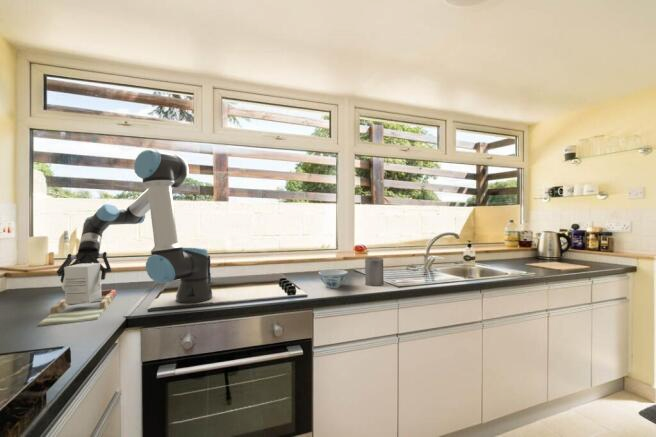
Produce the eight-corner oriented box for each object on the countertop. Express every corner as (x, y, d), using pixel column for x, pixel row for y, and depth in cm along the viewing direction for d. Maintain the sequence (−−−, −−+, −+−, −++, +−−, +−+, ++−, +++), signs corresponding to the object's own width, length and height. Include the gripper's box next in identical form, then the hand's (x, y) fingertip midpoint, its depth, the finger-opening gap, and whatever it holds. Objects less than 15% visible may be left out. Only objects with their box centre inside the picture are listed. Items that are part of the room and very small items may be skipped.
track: (72, 298, 149) (72, 291, 149) (116, 294, 156) (116, 288, 156) (38, 326, 112) (38, 317, 112) (97, 319, 119) (97, 311, 119)
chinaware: (352, 285, 171) (352, 270, 171) (338, 291, 159) (338, 275, 159) (328, 282, 179) (328, 268, 179) (312, 287, 167) (312, 272, 167)
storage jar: (199, 286, 171) (198, 258, 171) (187, 284, 176) (187, 256, 176) (214, 282, 180) (214, 255, 179) (203, 281, 185) (202, 254, 185)
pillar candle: (370, 281, 181) (370, 254, 181) (386, 283, 175) (386, 255, 175) (361, 284, 173) (361, 256, 173) (378, 287, 168) (378, 258, 167)
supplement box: (79, 298, 138) (78, 263, 138) (102, 297, 139) (101, 262, 139) (64, 304, 129) (63, 266, 129) (88, 303, 130) (87, 266, 129)
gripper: (121, 249, 152) (117, 289, 139) (59, 252, 143) (47, 295, 129) (119, 238, 148) (114, 278, 134) (54, 241, 138) (42, 285, 124)
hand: (81, 287), depth 131 cm, fingers closed on supplement box, 11 cm apart
